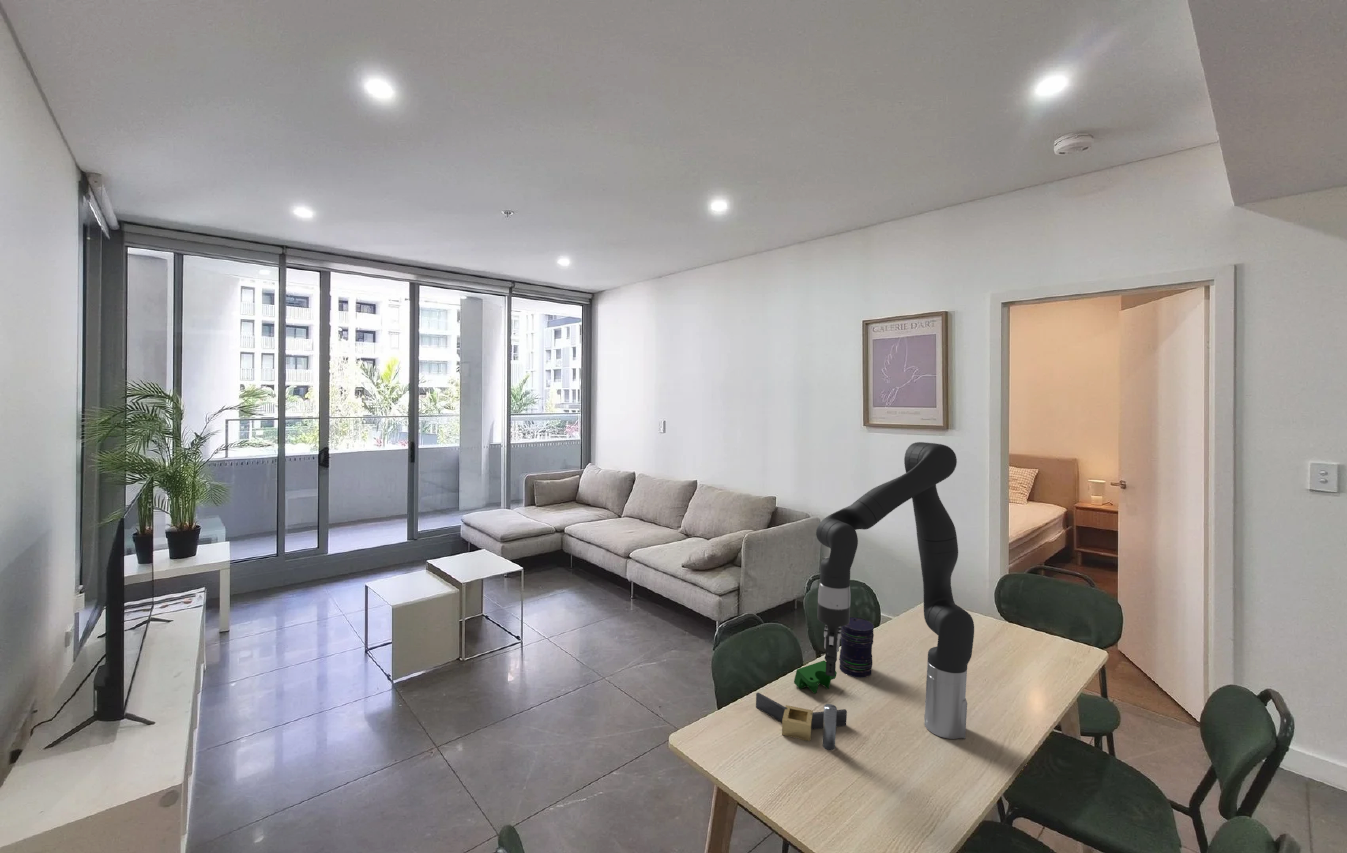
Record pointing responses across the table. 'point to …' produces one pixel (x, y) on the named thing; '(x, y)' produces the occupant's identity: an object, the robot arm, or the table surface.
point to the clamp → (813, 676)
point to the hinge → (796, 717)
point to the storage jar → (856, 648)
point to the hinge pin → (829, 726)
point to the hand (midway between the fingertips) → (831, 666)
